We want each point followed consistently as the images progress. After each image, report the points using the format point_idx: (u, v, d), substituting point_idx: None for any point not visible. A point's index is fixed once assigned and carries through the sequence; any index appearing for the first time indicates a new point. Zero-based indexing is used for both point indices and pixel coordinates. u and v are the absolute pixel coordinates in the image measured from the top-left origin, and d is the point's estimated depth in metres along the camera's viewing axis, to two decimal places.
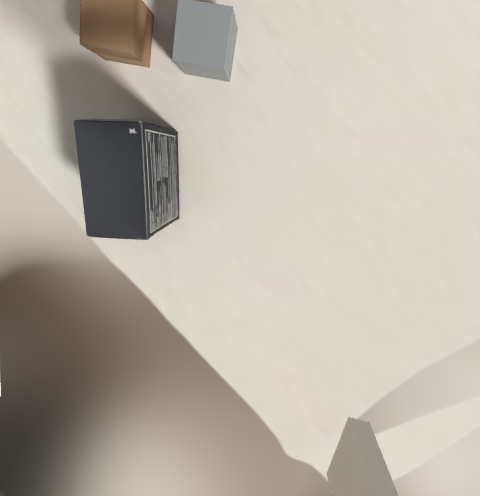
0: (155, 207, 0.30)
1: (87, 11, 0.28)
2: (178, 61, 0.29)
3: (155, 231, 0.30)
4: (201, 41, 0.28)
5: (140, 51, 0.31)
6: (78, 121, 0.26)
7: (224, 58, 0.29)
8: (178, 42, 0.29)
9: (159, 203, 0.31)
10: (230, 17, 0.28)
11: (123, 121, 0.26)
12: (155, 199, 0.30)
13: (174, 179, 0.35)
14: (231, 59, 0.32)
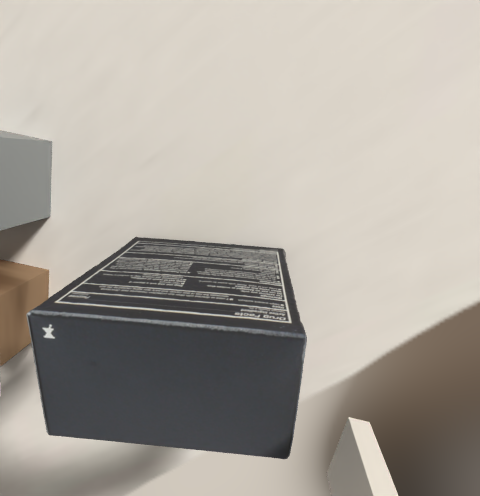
0: (236, 299, 0.13)
1: None
2: None
3: (292, 306, 0.13)
4: None
5: (9, 281, 0.20)
6: (49, 427, 0.13)
7: None
8: None
9: (233, 288, 0.14)
10: None
11: (34, 346, 0.12)
12: (219, 296, 0.13)
13: (206, 251, 0.19)
14: (10, 134, 0.19)
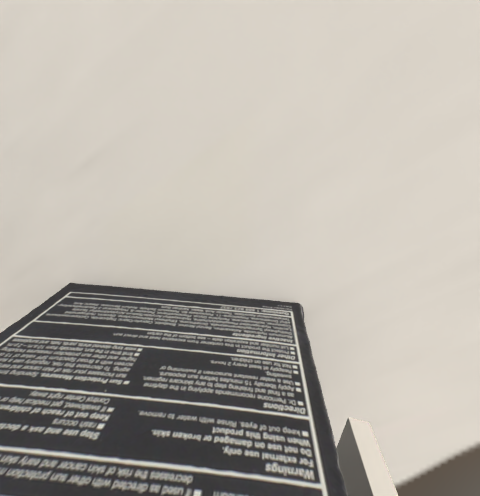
0: (210, 494, 0.06)
1: None
2: None
3: None
4: None
5: None
6: None
7: None
8: None
9: (206, 438, 0.07)
10: None
11: None
12: (170, 480, 0.06)
13: (174, 314, 0.11)
14: None
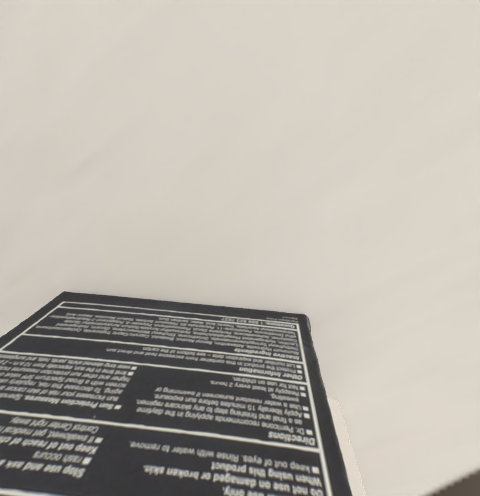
0: None
1: None
2: None
3: None
4: None
5: None
6: None
7: None
8: None
9: (205, 476, 0.06)
10: None
11: None
12: None
13: (173, 327, 0.11)
14: None
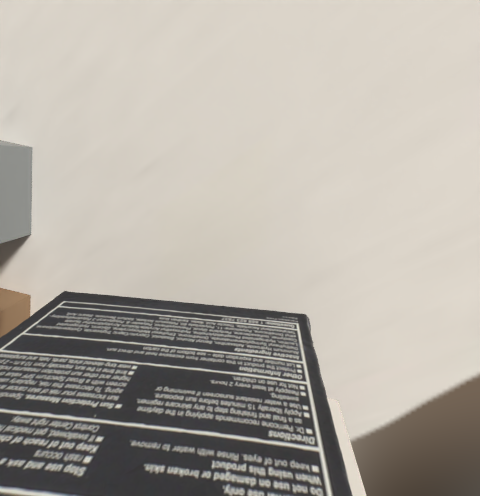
0: None
1: None
2: None
3: None
4: None
5: None
6: None
7: None
8: None
9: (205, 474, 0.06)
10: None
11: None
12: None
13: (173, 326, 0.11)
14: None
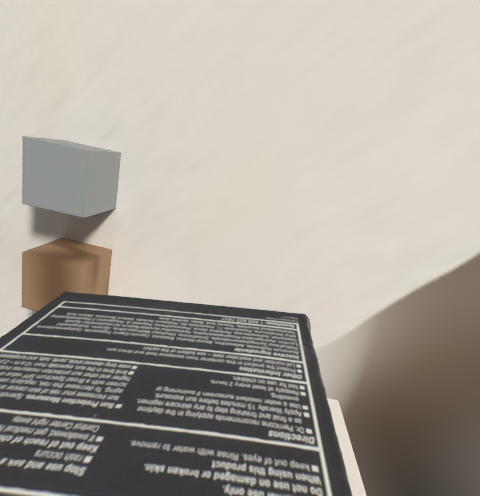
0: None
1: None
2: (86, 210, 0.24)
3: None
4: (61, 178, 0.23)
5: (88, 255, 0.27)
6: None
7: (77, 149, 0.22)
8: (65, 207, 0.23)
9: (205, 474, 0.06)
10: (33, 139, 0.22)
11: None
12: None
13: (173, 326, 0.11)
14: (93, 147, 0.26)
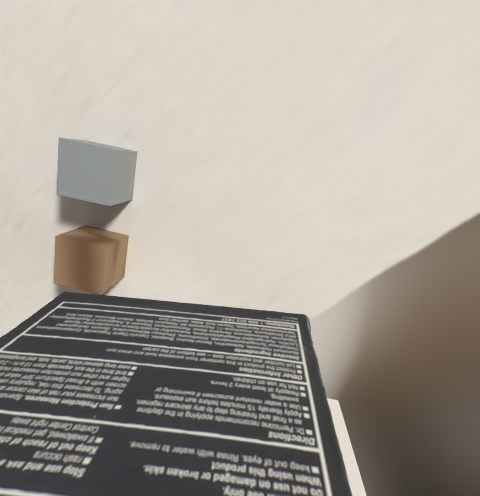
0: None
1: (75, 282, 0.30)
2: (111, 199, 0.28)
3: None
4: (91, 173, 0.27)
5: (109, 239, 0.31)
6: None
7: (104, 148, 0.27)
8: (93, 197, 0.28)
9: (205, 475, 0.06)
10: (68, 140, 0.27)
11: None
12: None
13: (173, 327, 0.11)
14: (114, 147, 0.30)
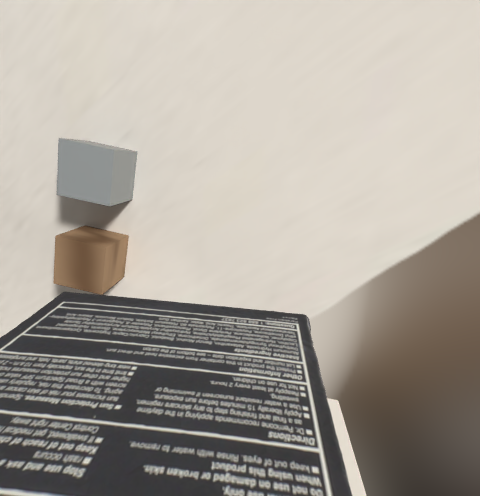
0: None
1: (75, 282, 0.30)
2: (111, 199, 0.28)
3: None
4: (91, 173, 0.27)
5: (109, 239, 0.31)
6: None
7: (104, 148, 0.27)
8: (93, 197, 0.28)
9: (205, 475, 0.06)
10: (67, 140, 0.27)
11: None
12: None
13: (173, 327, 0.11)
14: (114, 147, 0.30)
